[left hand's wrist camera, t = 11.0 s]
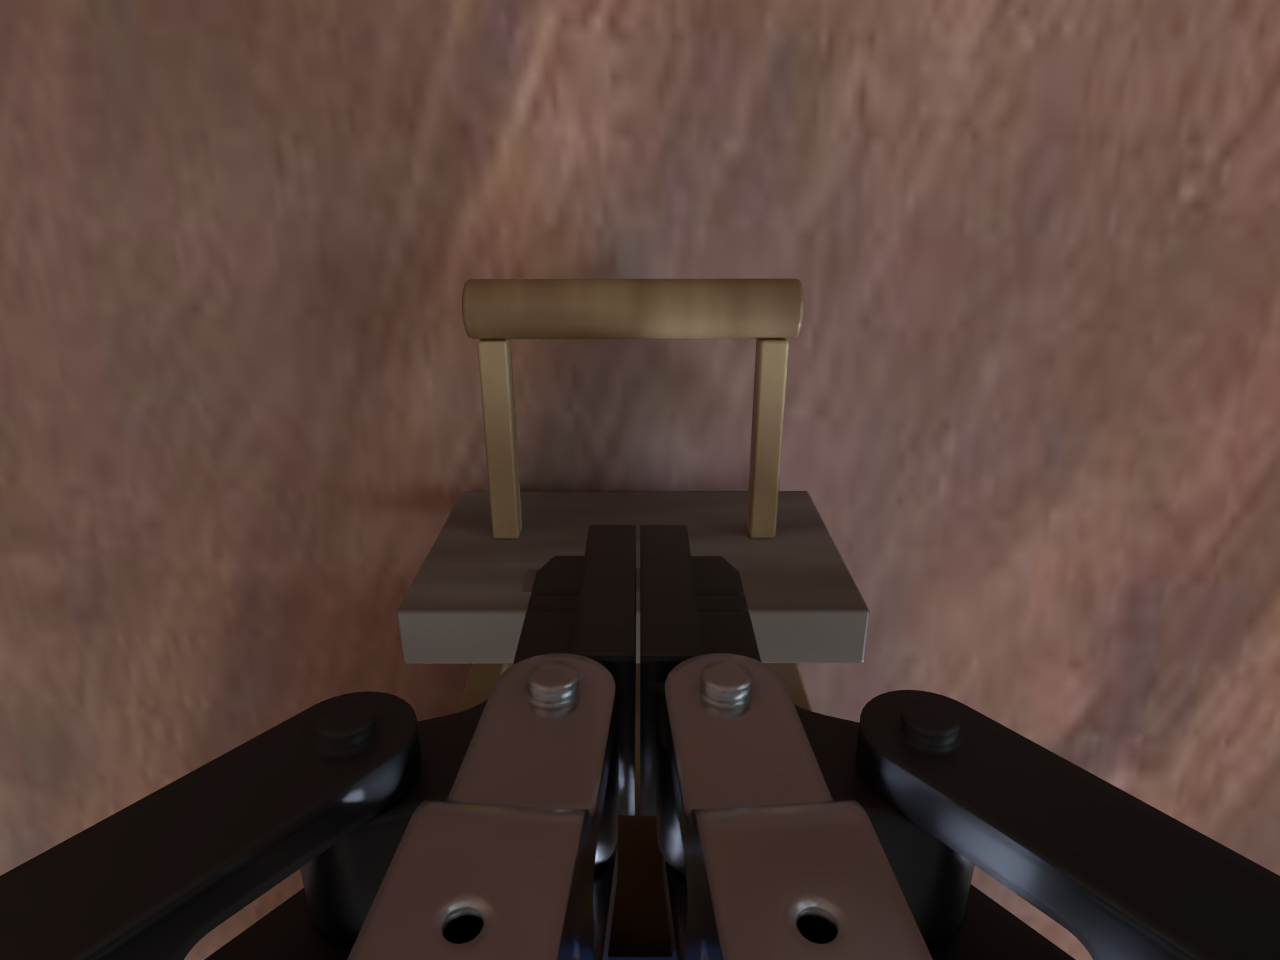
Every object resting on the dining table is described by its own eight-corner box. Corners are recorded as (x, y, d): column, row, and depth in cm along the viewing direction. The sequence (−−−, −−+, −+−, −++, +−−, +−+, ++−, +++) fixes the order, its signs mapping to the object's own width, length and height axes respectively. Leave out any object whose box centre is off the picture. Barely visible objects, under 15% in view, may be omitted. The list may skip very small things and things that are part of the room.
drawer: (441, 264, 18) (354, 307, 13) (826, 263, 18) (908, 306, 13) (504, 951, 27) (468, 1158, 21) (769, 951, 27) (804, 1158, 21)
